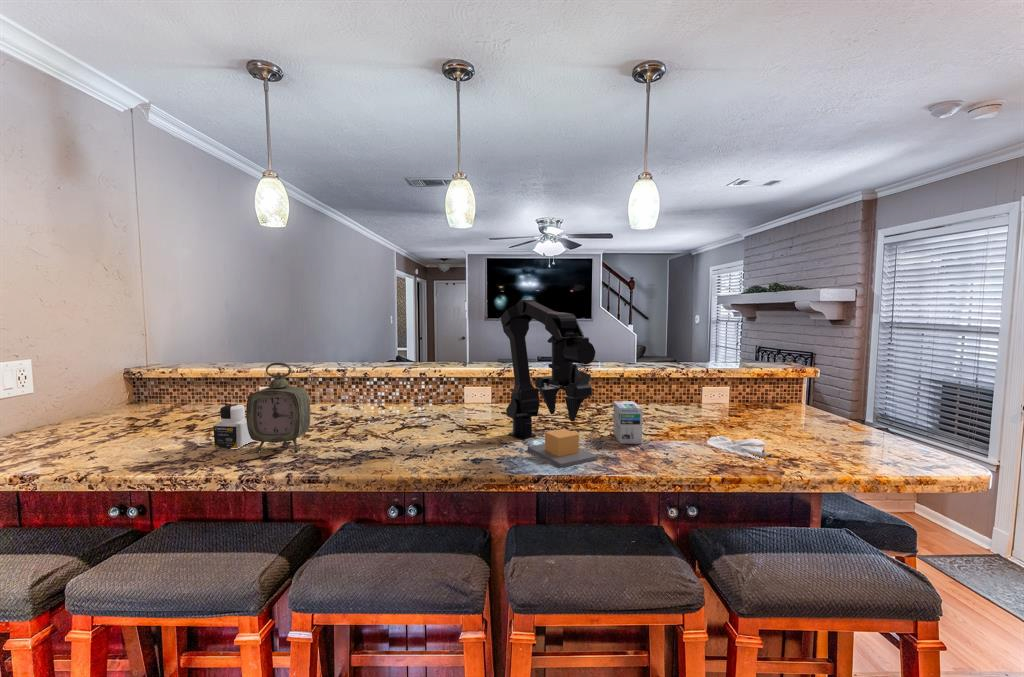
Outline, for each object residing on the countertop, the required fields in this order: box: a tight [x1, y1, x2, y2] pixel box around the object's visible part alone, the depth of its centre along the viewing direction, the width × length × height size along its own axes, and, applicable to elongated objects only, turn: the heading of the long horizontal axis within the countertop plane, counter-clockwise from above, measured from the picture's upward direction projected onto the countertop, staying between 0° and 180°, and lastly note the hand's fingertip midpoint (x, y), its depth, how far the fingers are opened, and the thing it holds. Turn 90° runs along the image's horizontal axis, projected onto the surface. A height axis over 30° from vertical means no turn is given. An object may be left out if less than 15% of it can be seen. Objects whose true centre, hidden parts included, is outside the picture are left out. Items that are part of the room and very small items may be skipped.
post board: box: [527, 443, 599, 469], centre depth 124 cm, size 16×12×4 cm
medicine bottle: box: [213, 403, 254, 449], centre depth 133 cm, size 7×7×12 cm
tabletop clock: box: [245, 362, 312, 453], centre depth 129 cm, size 14×9×25 cm, turn 92°
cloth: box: [706, 435, 774, 461], centre depth 130 cm, size 20×22×2 cm
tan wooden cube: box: [544, 428, 580, 457], centre depth 124 cm, size 7×7×5 cm
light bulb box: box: [612, 400, 644, 445], centre depth 139 cm, size 11×7×11 cm, turn 179°
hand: (562, 417), depth 124 cm, fingers open, 9 cm apart
